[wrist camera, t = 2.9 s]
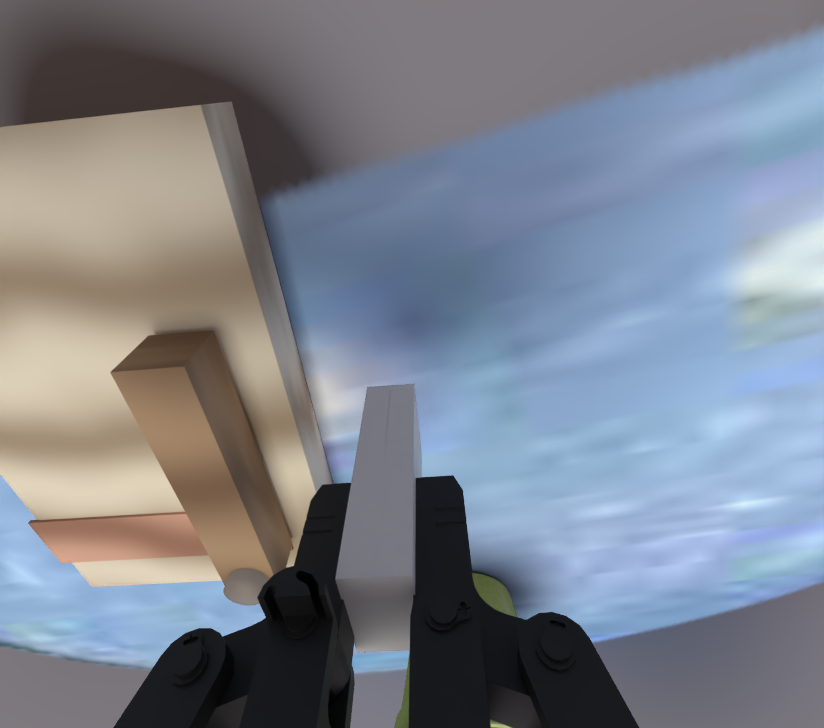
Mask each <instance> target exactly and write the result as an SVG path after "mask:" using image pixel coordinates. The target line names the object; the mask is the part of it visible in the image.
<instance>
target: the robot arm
mask: <svg viewBox="0 0 824 728" xmlns="http://www.w3.org/2000/svg"><path fill="white" fill-rule="evenodd" d="M257 599H258V601H259V603H260V605H261V607H262V610H263V612H264V614H265V616H266V618H265V619H264V620H262V621H260V622H258V623H256V624H254V625H252V626H250V627H247V628H244V629H242V630H239V631H237V632H234V633H231V634H229V635H226V636H223V637H222V635H221V634H220V633H219V632H217V631H215V630H213V629H211V628H199V629H196V630H193V631H191V632H188V633H185V634H184V635H182V636H181V637H180V638H178V639H177V640H175V641H174V642H173V643H172V644H171V645H170V646H169V647H168V648H167V649H166V651H165V652H164V653H163V654H162V655H161V657H160V658H159V660H158V661H157V663H156V664H155V666H154V667H153V669H152V670H151V672H150V673H149V675H148V677H147V678H146V679H145V681H144V682H143V684H142V686H141V687H140V688H139V690H138V692H137V693H136V695H135V696H134V697H133V699H132V701H131V702H130V703H129V705H128V706H127V708H126V709H125V711H124V713H123V714H122V716H121V718H120V719H119V720H118V722H117V723H116V725H115V726H114V728H350V722H351V712H352V703H353V693H354V671H353V667H352V656H353V647H354V643H355V647H356V650H357V652H379V651H405V650H410V668H409V728H491V724H490V719H491V720H493V721H496V722H498V723H501V724H504V725H506V726H509V727H511V728H639V726H638V725H637V723H636V721H635V719H634V718H633V716H632V714H631V712H630V710H629V708H628V707H627V705H626V703H625V701H624V699H623V698H622V696H621V694H620V692H619V690H618V689H617V687H616V685H615V683H614V681H613V680H612V678H611V676H610V674H609V672H608V671H607V669H606V667H605V666H604V664H603V662H602V660H601V658H600V656H599V654H598V653H597V651H596V649H595V647H594V645H593V644H592V642H591V640H590V638H589V637H588V636H587V634H586V633H585V632H584V630H583V629H582V628H581V627H580V625H578V624H577V623H575V622H574V621H573V620H571V619H570V618H568V617H567V616H564V615H560V614H557V613H553V612H548V613H538V614H537V615H535V616H533V617H531V618H529V619H528V620H524V619H521V618H518V617H514V616H511V615H508V614H505V613H502V612H500V611H498V610H495V609H494V608H492V607H491V606H490V605H488V604H487V603H486V602H485V601H484V600H483V599H482V598H481V597H480V595H479V593H478V592H477V590H476V588H475V585H474V581H473V576H472V567H471V559H470V550H469V541H468V532H467V524H466V515H465V506H464V497H463V490H462V488H461V487H460V485H459V484H458V482H457V481H456V479H455V478H454V476H438V477H422V460H421V441H420V432H419V423H418V413H417V404H416V395H415V386H414V384H405V385H391V386H377V387H367V392H366V398H365V404H364V410H363V416H362V422H361V428H360V434H359V440H358V446H357V452H356V458H355V464H354V470H353V476H352V482H351V483H340V484H324V485H322V486H321V487H320V488H319V490H318V491H317V492H316V494H315V495H314V496H313V498H312V499H311V501H310V505H309V509H308V513H307V517H306V521H305V524H304V528H303V535H302V536H301V540H300V544H299V548H298V551H297V555H296V559H295V563H294V566H291V567H287V568H285V569H283V570H281V571H279V572H278V573H276V574H274V575H273V576H272V577H271V578H270V579H269V580H268V581H267V582H266V583H265V584H264V585H263V587H262V589H261V591H260V593H259V595H258V597H257Z"/></svg>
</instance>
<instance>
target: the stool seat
mask: <svg viewBox="0 0 824 728" xmlns="http://www.w3.org/2000/svg"><path fill="white" fill-rule="evenodd" d="M210 330H214V333H215V336H216V338H217V341H218V344H219V346H220V349H221V352H222V355H223V357H224V360H225V363H226V365H227V368H228V371H229V373H230V376H231V379H232V382H233V384H234V387H235V390H236V392H237V395H238V398H239V400H240V403H241V406H242V409H243V411H244V414H245V417H246V419H247V422H248V425H249V427H250V430H251V433H252V436H253V438H254V441H255V444H256V446H257V449H258V452H259V454H260V457H261V460H262V463H263V465H264V468H265V471H266V473H267V476H268V479H269V481H270V484H271V487H272V490H273V492H274V495H275V498H276V500H277V503H278V506H279V508H280V511H281V514H282V517H283V519H284V522H285V525H286V527H287V530H288V533H289V536H290V538H291V541H292V547H291V551H290V555H289V558H288V562H287V566H286V568H287V567H291V566H294V563H295V559H296V555H297V551H298V548H299V544H300V540H301V536H302V535H303V528H304V524H305V521H306V517H307V513H308V509H309V505H310V501H311V499H312V498H313V496H314V495H315V494H316V492H317V491H318V490H319V488H320V487H321V486H322V485H324V484H333V482H332V478H331V474H330V470H329V467H328V463H327V459H326V455H325V452H324V448H323V444H322V440H321V436H320V433H319V429H318V425H317V421H316V418H315V414H314V410H313V406H312V403H311V399H310V395H309V391H308V387H307V384H306V380H305V376H304V372H303V369H302V365H301V361H300V357H299V354H298V350H297V346H296V342H295V338H294V335H293V331H292V327H291V323H290V320H289V316H288V312H287V308H286V305H285V301H284V297H283V293H282V289H281V286H280V282H279V278H278V274H277V271H276V267H275V263H274V259H273V256H272V252H271V248H270V244H269V240H268V237H267V233H266V229H265V225H264V222H263V218H262V214H261V210H260V206H259V203H258V199H257V195H256V191H255V188H254V184H253V180H252V176H251V173H250V169H249V165H248V161H247V158H246V154H245V150H244V146H243V142H242V139H241V135H240V131H239V127H238V124H237V120H236V116H235V112H234V108H233V105H232V102H221V103H213V104H203V105H195V106H186V107H176V108H167V109H158V110H150V111H141V112H131V113H122V114H113V115H104V116H96V117H86V118H77V119H68V120H59V121H50V122H41V123H33V124H23V125H14V126H5V127H0V474H1V475H2V477H3V478H4V479H5V480H6V482H7V483H8V484H9V485H10V487H11V488H12V489H13V490H14V491H15V493H16V494H17V495H18V496H19V498H20V499H21V500H22V501H23V503H24V504H25V505H26V506H27V508H28V509H29V510H30V511H31V512H32V514H33V515H34V516H35V517H36V519H37V520H30V521H29V523H28V524H29V525H30V526H31V527H32V529H33V530H34V531H35V532H36V533H37V535H38V536H39V537H40V538H41V539H42V541H43V542H44V543H45V544H46V545H47V547H48V548H49V549H50V550H51V551H52V553H53V554H54V555H55V556H56V557H57V559H58V560H59V561H60V562H61V563H73V564H74V566H75V567H76V568H77V569H78V571H79V572H80V573H81V574H82V576H83V577H84V578H85V579H86V580H87V582H88V583H89V584H90V585H91V587H98V586H119V585H139V584H159V583H179V582H199V581H220V580H222V579H221V578H220V576H219V574H218V572H217V570H216V568H215V566H214V564H213V563H212V561H211V559H210V557H209V555H208V553H207V551H206V550H205V548H204V546H203V544H202V542H201V540H200V538H199V537H198V535H197V533H196V531H195V529H194V527H193V525H192V524H191V522H190V520H189V518H188V516H187V514H186V512H185V511H184V509H183V507H182V505H181V503H180V501H179V499H178V498H177V496H176V494H175V492H174V490H173V488H172V486H171V485H170V483H169V481H168V479H167V477H166V475H165V473H164V472H163V470H162V468H161V466H160V464H159V462H158V460H157V459H156V457H155V455H154V453H153V451H152V449H151V447H150V446H149V444H148V442H147V440H146V438H145V436H144V434H143V433H142V431H141V429H140V427H139V425H138V423H137V421H136V420H135V418H134V416H133V414H132V412H131V410H130V408H129V407H128V405H127V403H126V401H125V399H124V397H123V395H122V394H121V392H120V390H119V388H118V386H117V384H116V382H115V381H114V379H113V377H112V375H111V373H110V372H111V371H112V370H113V369H114V368H115V367H116V366H117V365H118V364H119V363H120V362H121V361H122V360H123V359H124V358H125V357H127V356H128V355H129V354H130V353H131V352H132V351H133V350H134V349H135V348H136V347H137V346H138V345H139V344H140V343H141V342H142V341H143V340H144V339H145V338H146V337H147V336H149V335H161V334H173V333H186V332H198V331H210Z"/></svg>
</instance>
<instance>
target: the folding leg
mask: <svg viewBox="0 0 824 728" xmlns="http://www.w3.org/2000/svg"><path fill="white" fill-rule="evenodd" d="M110 373H111V375H112V377H113V379H114V381H115V382H116V384H117V386H118V388H119V390H120V392H121V394H122V395H123V397H124V399H125V401H126V403H127V405H128V407H129V408H130V410H131V412H132V414H133V416H134V418H135V420H136V421H137V423H138V425H139V427H140V429H141V431H142V433H143V434H144V436H145V438H146V440H147V442H148V444H149V446H150V447H151V449H152V451H153V453H154V455H155V457H156V459H157V460H158V462H159V464H160V466H161V468H162V470H163V472H164V473H165V475H166V477H167V479H168V481H169V483H170V485H171V486H172V488H173V490H174V492H175V494H176V496H177V498H178V499H179V501H180V503H181V505H182V507H183V509H184V511H185V512H186V514H187V516H188V518H189V520H190V522H191V524H192V525H193V527H194V529H195V531H196V533H197V535H198V537H199V538H200V540H201V542H202V544H203V546H204V548H205V550H206V551H207V553H208V555H209V557H210V559H211V561H212V563H213V564H214V566H215V568H216V570H217V572H218V574H219V576H220V578H221V579H222V581H223V583H224V585H225V587H224V594H225V596H226V597H227V598H228V599H229V600H231V601H233V602H235V603H237V604H241V605H256V604H259V601H258V599H257V597H258V595H259V593H260V591H261V589H262V587H263V585H264V584H265V583H266V582H267V581H268V580H269V579H270V578H271V577H272V576H273V575H274V574H276V573H278V572H279V571H281V570H283V569H285V568H286V566H287V562H288V558H289V555H290V551H291V547H292V541H291V538H290V536H289V533H288V530H287V527H286V525H285V522H284V519H283V517H282V514H281V511H280V508H279V506H278V503H277V500H276V498H275V495H274V492H273V490H272V487H271V484H270V481H269V479H268V476H267V473H266V471H265V468H264V465H263V463H262V460H261V457H260V454H259V452H258V449H257V446H256V444H255V441H254V438H253V436H252V433H251V430H250V427H249V425H248V422H247V419H246V417H245V414H244V411H243V409H242V406H241V403H240V400H239V398H238V395H237V392H236V390H235V387H234V384H233V382H232V379H231V376H230V373H229V371H228V368H227V365H226V363H225V360H224V357H223V355H222V352H221V349H220V346H219V344H218V341H217V338H216V336H215V333H214V330H210V331H198V332H186V333H173V334H161V335H149V336H147V337H146V338H145V339H144V340H143V341H142V342H141V343H140V344H139V345H138V346H137V347H136V348H135V349H134V350H133V351H132V352H131V353H130V354H129V355H128V356H127V357H125V358H124V359H123V360H122V361H121V362H120V363H119V364H118V365H117V366H116V367H115V368H114V369H113V370H112V371H111V372H110Z"/></svg>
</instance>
